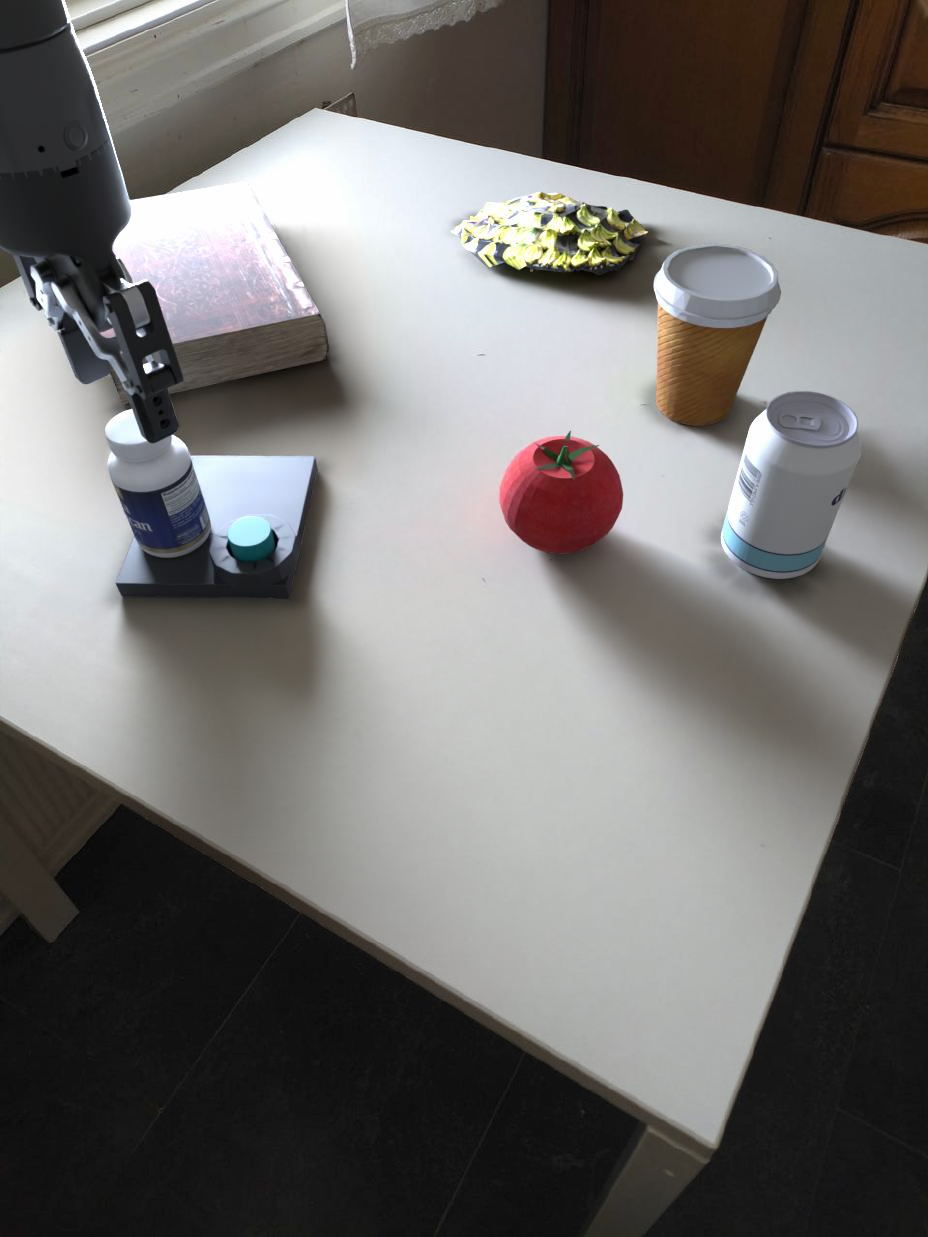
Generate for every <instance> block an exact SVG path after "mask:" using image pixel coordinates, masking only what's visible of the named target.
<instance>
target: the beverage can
mask: <svg viewBox="0 0 928 1237" xmlns="http://www.w3.org/2000/svg"><path fill="white" fill-rule="evenodd" d="M752 421H753V422H752V423H751V424H750V426H749V429H748V433H747V437H746V440H745V444H744V448H743V451H742V455H741V458H740V462H739V466H738V470H737V474H736V477H735V481H734V485H733V487H732V488H733V489H732V493H731V495H730V500H729V503H728V507H727V512H726V514H725V517H724V522H723V526H722V529H721V533H720V534H721V535H720V542H721V546H722V549H723V551H724V552H725V554H726V555H727V557H728V558H729V559H730V560H731V561H732V562H733V563H734V564H735V565H736V566H738V567H739V568H741V569H743V570H744V571H746V572H748V573H750V574H753V575H755V576H759V577H763V578H767V579H775V580H784V579H785V580H786V579H792V578H796V577H799V576H803V575H805V574H807V573H809V572H810V571H811V570H812V569H813V568H814V567H815V566H816V565H817V564H818V563H819V560H820V558H821V555H822V553H823V551H824V548H825V545H826V542H827V540H828V537H829V535H830V534H831V530H832V527H833V525H834V522H835V519H836V517H837V515H838V512H839V510H840V507H841V504H842V502H843V500H844V497H845V494H846V492H847V489H848V487H849V484H850V482H851V480H852V476H853V474H854V471H855V469H856V467H857V464H858V462H859V459H860V456H861V451H862V443H861V439H860V435H859V432H858V429H859V420H858V416H857V415H856V413H855V411H854V410H853V409H852V408H851V407H850V406H849V405H847V404H846V403H845V402H843V401H842V400H840V399H838V398H836V397H833V396H831V395H828V394H825V393H822V392H818V391H809V390H794V391H789V392H785V393H781V394H780V395H777V396H776V397H774V398H772V399H771V400H770V401H769V403H768V405H767V406H766V409H765V410H764V411H763V412H761V413H760V414H759V415H758V416H756V418H755V419H754V420H752Z"/></svg>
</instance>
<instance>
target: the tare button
mask: <svg viewBox="0 0 928 1237" xmlns="http://www.w3.org/2000/svg"><path fill="white" fill-rule="evenodd" d="M227 537H228V540H229V544H230V547H231V550H232V553H233V555H234V556H235V558H237V559H238V560H240V561H243V562H256V561H258V560H261V559H264V558H266V557H268V556H269V555H270V554H271V553H272V552H273V550H274V548H275V541H274V537H273V533H272V529H271V526H270V524H269V523H268V522H267V521H266V520H265V519H263V518H260V517H246V518H242V519H240V520H238V521H236V522H235V523H233V524H232V525H231V526H230V528H229V530H228V533H227Z"/></svg>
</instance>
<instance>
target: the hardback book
mask: <svg viewBox="0 0 928 1237" xmlns="http://www.w3.org/2000/svg"><path fill="white" fill-rule="evenodd" d="M129 200H130V203H131V208H132V214H131V218H130V221H129V223H128V224H127V226H126V227H125V229H124V230H122V231H121V232H120V233H119V235H118V236H117V238H116V239H115V241H114V244H113V252H114V253H115V254H116V256H117V257H118V258H120V259H121V261H122V262H123V263H124V265H125V267H126V269H127V271H128V272H129V274H130V276H131V278H132V281H133V283H132V284H136V283H139V282H141V281H144V280H148V281H149V282H150V283H151V285H152V286H153V287H154V289H155V291H156V294H157V297H158V300H159V304H160V307H161V310H162V313H163V316H164V319H165V322H166V325H167V328H168V331H169V334H170V337H171V341H172V344H173V347H174V350H175V353H176V356H177V359H178V362H179V365H180V368H181V371H182V374H183V378H184V381H183V382H181V383H179V384H177V385H173V386H171V387H169V388H168V391H169V395H171V394H175V393H179V392H184V391H188V390H192V389H197V388H202V387H207V386H212V385H215V384H222V383H224V382H225V383H226V382H229V381H234V380H235V381H236V380H239V379H243V378H249V377H252V376H257V375H262V374H267V373H271V372H275V371H280V370H284V369H289V368H293V367H298V366H303V365H308V364H312V363H317V362H321V361H322V362H323V361H326V360H328V358H329V349H330V346H329V340H328V335H327V328H326V324H325V321H324V319H323V317H322V315H321V313H320V310H319V309H318V307H317V305H316V303H315V302H314V300H313V298H312V296H311V295H310V293H309V291H308V289H307V287H306V285H305V284H304V282H303V280H302V278H301V276H300V274H299V272H298V271H297V270H296V267H295V266H294V264H293V262H292V259H291V258H290V257H289V254H288V253H287V250H286V249H285V247H284V246H283V244H282V242H281V240H280V239H279V237H278V235H277V233H276V232H275V230H274V228H273V225H272V224H271V222H270V220H269V218H268V217H267V214H266V213H265V211H264V209H263V207H262V206H261V204H260V202H259V201H258V199H257V197H256V195H255V193H254V191H253V189H252V188H251V186H250V184H249V183H248V181H247V180H245V181H239V182H234V183H227V184H222V185H215V186H209V187H204V188H197V189H191V190H184V191H177V192H173V193H166V194H161V195H155V196H149V197H148V196H147V197H142V198H136V199H129ZM100 334H101V335H102V336H104V337H106V338H112V337H115V336H116V335H115V332H114V330H113V328H112V329H109V330H107V331H104V332H100ZM121 354H122V351H121ZM122 356H123V354H122ZM123 358H124V356H123ZM124 360H125V359H124ZM147 363H148V361H147V359H146V357H144V359H143V365H145V364H147ZM109 364H110V367H111V372H110V374H109V375H110V377H111V379H112V382H113V385H114V388H115V390H116V393H117V395H118V398H119V400H120V404H121V405H124V404H130V402H129V399H128V396H127V394H126V391H125V389H124V387H123V385H122V382H121V380H120V379H119V377H118V375H117V373H116V372H115V370H114V368H113V367H112V365H111V363H110V362H109Z"/></svg>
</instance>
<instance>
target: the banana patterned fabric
mask: <svg viewBox="0 0 928 1237" xmlns="http://www.w3.org/2000/svg"><path fill="white" fill-rule="evenodd" d="M450 232H451V233H452V234H453V235H456V236H457V237H459V238H460V239H461V241H460V242H461V245H462V246H463V247H464V248H465V249H466V250H467V251H468V252H470V253H471V254H472V255H473V256H474V257H475V258H476V259H478V260H479V261H480V262H481V263H482V264H483V265H485V267H487V268H488V269H490V268H492V267H494V266H498V265H500V264H501V265H502V264H505V263H506V264H507V265H508V266H511V267H512V268H514V269H516V270H518V271H520V270H521V269H523V268H525V267H527V268H530V269H529V271H530V272H533V271H534V270H536V271H538V270H539V271H541V270H542V271H546V272H551V271H552V272H554V273H573V272H574V271H575V270H576V272H578V271H580V270H583V271H585V272H590V273H593V274H596V275H598V276H601V275H603V274H606V273H609V272H610V271H614V272H615V271H617V272H619V271H620V269H621V268H622V267H623V266H624V265H625V264H626V263H627V262H629V261H630V262H631V261H633V259H635V255H636V253H637V252H638V251H639V249H640V248H641V247H642V241H643V240H644V238H645V237H646V236H647V234H648V233H649V231H647V230H646V227H645V226H644V225H642V223H640V222H639V221H638V220H636V219H635V217H634V216H633V215H632V214H631V212H630V210H629V209H623V210H619V211H616V210H615V209H614V208H613V207H609V208H608V207H607V206H604V205H593V204H589V203H586V202H583V201H580V200H576V199H574V198H571V197H568V196H566V195H564V194H562V193H560V192H553V193H552V192H551V193H546V192H542V191H538V192H535V193H531V194H528V195H522V196H520V197H519V196H518V197H516V198H513V199H510V200H507V201H506V200H505V201H503V202H486V204H485V206H484V207H483V208H481V210H480V211H479V212H478V213H477V214H476V215H475V216H473V215H470V218H469V220H467V219H464V220H463V221H462V222H461V223H460V224H459V225H458V226H455V228H454V230H451V231H450Z"/></svg>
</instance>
